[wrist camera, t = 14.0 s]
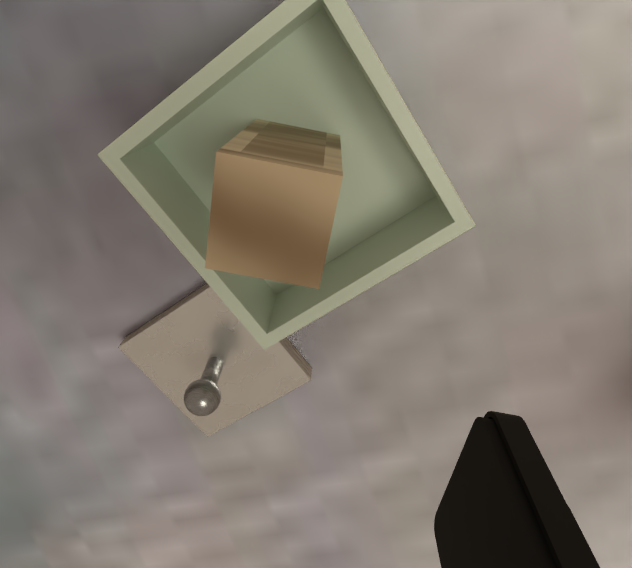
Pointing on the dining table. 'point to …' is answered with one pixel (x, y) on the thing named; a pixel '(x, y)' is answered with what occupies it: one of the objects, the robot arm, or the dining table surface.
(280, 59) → the bin
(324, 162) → the strut
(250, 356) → the stud plate
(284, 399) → the dining table surface
